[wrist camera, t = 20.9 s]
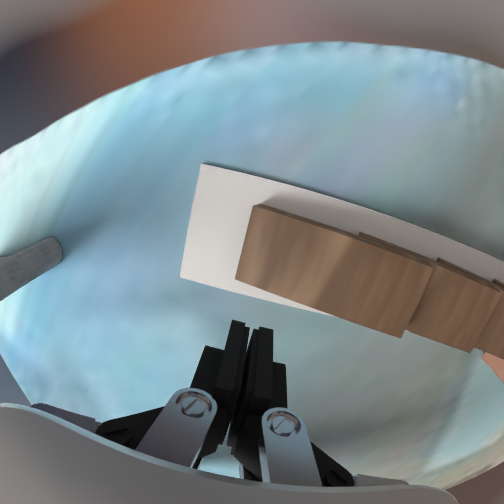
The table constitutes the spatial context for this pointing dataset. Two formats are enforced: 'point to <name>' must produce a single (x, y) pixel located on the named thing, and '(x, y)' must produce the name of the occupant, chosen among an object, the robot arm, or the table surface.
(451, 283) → the domino
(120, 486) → the robot arm
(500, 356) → the domino
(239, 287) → the domino mat
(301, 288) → the domino
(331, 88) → the table surface
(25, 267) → the hip flask
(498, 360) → the end domino
